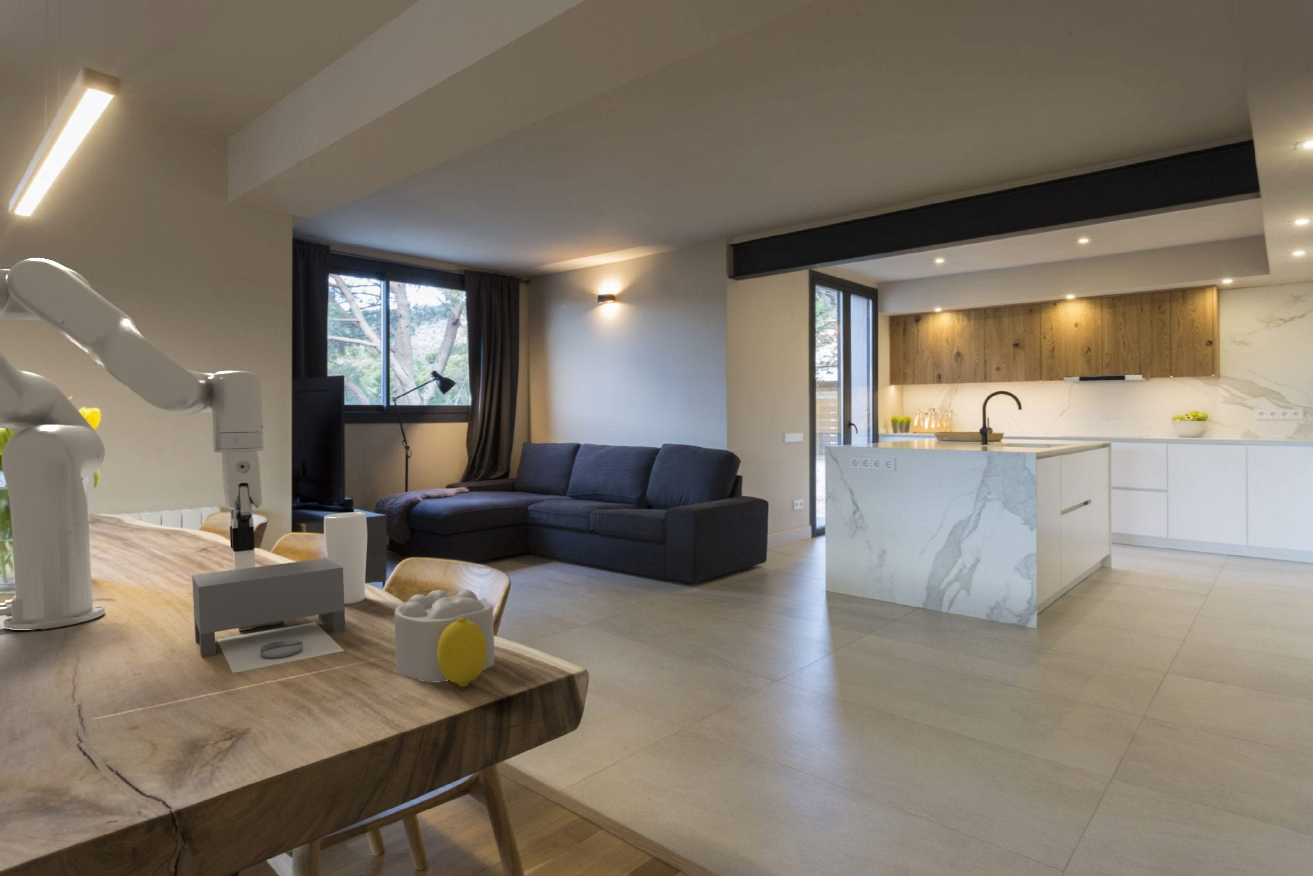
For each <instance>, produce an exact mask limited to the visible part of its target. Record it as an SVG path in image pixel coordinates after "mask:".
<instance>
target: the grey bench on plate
mask: <svg viewBox="0 0 1313 876" xmlns="http://www.w3.org/2000/svg"><path fill="white" fill-rule="evenodd" d="M192 597H193V598H192V600H193V602H192V603H193V619H194V621H193V622H194V640H195V643H199V649H200V651H199V652H200V656H201V658H206V657H211V656H216V634H215V633H217V632H223V631H224V632H225V631H228V630H234V629H236V630H237V629H238V628H242V627H248V626H254V625H260V624H266V623H272V622H278V621H284V622H285V621H289V620H293V619H294V620H295V619H300V618H306V617H311V616H318V620H319V621H321V622H323V621H329V620H330V629H331V632H332V634H335V633H336V634H337V633H340V632H346V614H345V613H346V612H345V604H344V583H343V567H341V566H340V565H338V564H336V563H335V562H333V561H331V560H330V559H328V558H327V557H325V558H317V559H308V560H300V561H295V562H294V561H292V562H286V563H278V564H277V563H276V564H269V565H262V566H261V565H260V566H255V567H252V568H244V569H237V570H233V569H230V570H222V571H214V572H206V573H198V574H192Z"/></svg>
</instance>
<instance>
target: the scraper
mask: <svg viewBox="0 0 1313 876" xmlns="http://www.w3.org/2000/svg"><path fill="white" fill-rule="evenodd" d="M231 520H232V525H231V526H232V528H234V518H233V519H231V518H230V521H231ZM253 526H254V524H253ZM254 527H255V526H254ZM232 545H233V540H232ZM255 553H256V552H255V549H254V550H248V551H239V552H234V551H233V550H232V567H233V568H232V570H237V569H244V568H252V567H256V556H255ZM283 623H285V620H284V621H278V622H272V623H266V624H260V625H254V626H248V627H242V628H237V629H238V631H241V630H247V629H253V628H259V627H265V626H270V625H271V626H272V625H277V624H283Z"/></svg>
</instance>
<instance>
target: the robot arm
mask: <svg viewBox="0 0 1313 876" xmlns="http://www.w3.org/2000/svg"><path fill="white" fill-rule="evenodd" d="M0 320H1V321H2V320H4V321H5V320H9V321H10V320H13V321H14V320H18V321H19V320H20V321H21V320H23V321H24V320H25V321H30V320H31V321H34V320H35V321H39V320H40V321H41V322H43V323H45V324H46V325H47V326H49V327H50V328H52V329H53V330H55V331H56V332H57V333H59V334H60V335H61V336H63V337H64V338H65V339H67V340H68V341H69V342H71V343H72V344H74V345H75V346H76V347H78V348H79V349H80V350H82V351H83V352H84V353H85V354H87V355H88V356H90V358H91V359H92V360H93V361H94V362H95V363H97V364H98V365H99V366H101V368H103V369H104V371H106V372H107V373H109V374H110V376H112V377H113V378H114V379H116V380H117V381H118V382H120V384H122V385H123V386H125V387H126V388H128V389H129V391H131V392H133V393H134V394H136V395H137V396H139V397H140V398H141V399H143V400H144V401H145V402H147V403H148V404H149V405H151V406H153V407H155V408H156V409H158V410H159V411H162V412H164V413H168V414H171V415H172V414H174V415H187V416H188V415H190V416H191V415H192V416H193V415H200V414H207V413H211V415H212V437H213V438H212V439H213V440H212V443H213V453H221V464H222V465H221V466H222V467H221V468H222V469H221V470H222V483H223V485H222V486H223V494H224V495H223V497H224V502H225V503H224V504H225V506H226V507H227V508H228V509H230V511H229V512H230V525H229V539H230V540H229V541H230V549H232V552H233V551H234V552H239V551H248V550H254V551H255V526H253V525H254V518H253V507H255V509H260V508H262V506H263V500H262V499H263V497H262V486H261V485H262V484H261V471H260V470H261V468H260V460H259V454H258V452H263V451H265V448H264V447H265V446H264V445H265V444H264V423H263V422H264V421H263V417H264V416H263V396H262V395H263V389H262V388H263V387H262V385H263V384H262V380H261V377H260V375H259V373H256V372H254V371H248V370H247V371H246V370H224V371H217V372H215V373H208V372H199V371H195V370H192V369H191V370H190V369H187V368H185V367H183V366H182V365H180V364H179V363H177V361H174V360H173V358H171V357H169V356H168V355H166V353H164V352H163V351H161V350H160V349H159V348H157V347H156V346H155V345H154V344H153V343H151V341H149V340H148V339H147V338H146V337H144V336H143V335H142V333H140V331H139V330H138V328H137V325H136V323H135V321H134V320H133V319H132V318H131V317H130V316H129V315H128V314H127V313H125V312H124V311H122V310H121V309H120V308H119V307H118V306H116V305H114V304H113V303H112V302H110V301H109V300H107V299H106V298H105V297H103V296H102V295H101V294H99V293H98V292H97V291H95V290H94V289H93V288H92V286H91V284H90V283H89V281H88V280H87V279H86V278H84V276H83V275H81V274H80V273H78V272H77V271H74V270H73V269H70V268H68V267H66V266H64V265H62V264H60V263H58V262H56V261H53V260H49V259H45V258H40V257H38V258H35V257H33V258H28V259H24V260H20V261H19V262H16V264H14V265H13V266H11V268H10V269H7V268H6V269H5V268H3V269H1V268H0ZM0 429H11V431H12V432H13V433H14V435H12V436H11V437H10V438H9V439H8V440H7V442H6V443H5V445H4V448H3V450H2V454H1V467H2V468H1V469H2V473H3V477H4V480H5V485H6V488H7V493H8V499H9V500H8V501H9V507H10V508H9V510H10V521H11V534H12V552H13V555H12V556H13V569H14V570H13V571H14V572H13V573H14V588H15V589H14V591H15V594H14V596H13V597H12V599H6V600H5V601H4V602H1V603H0V617H1V616H6V617H7V618H6V619H4V620H3V627H4V626H5V627H7V628H12V629H41V630H47V629H48V630H49V628H50V629H55V628H61V627H62V628H63V627H67V626H72V625H77V624H81V623H84V622H88V621H92V620H94V619H97V618H99V617H101V616H103V615H105V612H106V608H105V606H104V605H103V604H101V603H100V604H99V603H93V583H92V567H91V566H92V564H91V563H92V562H91V545H90V543H91V542H90V525H89V524H90V522H89V521H90V520H89V511H88V510H89V508H88V500H87V495H86V491H85V487H84V483H83V479H84V478H87V477H89V476H90V475H93V474H95V472H97V471H98V470H99V469H100V467H101V466H102V464H103V463H104V460H105V455H106V453H105V451H106V450H105V446H104V445H105V444H104V443H103V440H102V438H101V437H100V435H99V434H98V433H97V431H96V430H95V429H94V427H93V426H92V425H91V424H90V423H89V421H88V420H87V418H85V417H84V415H82V413H81V412H80V411H79V410H78V408H77V407H76V406H75V405H74V404H73V402H71V400H70V399H69V397H67V395H66V394H65V393H64V392H63V391H62V390H61V389H60V388H59V387H58V386H57V385H56V383H54V382H52V381H51V380H49V379H48V378H47V377H45V376H42V375H40V374H37V373H34V372H29V371H26V370H20V369H18V368H17V367H15V365H14V364H12V363H11V362H10V360H8V359H7V358H6V356H5V355H4V354H3V353H2V352H1V351H0ZM233 518H234V528H232V520H231V519H233ZM232 540H233V545H232Z"/></svg>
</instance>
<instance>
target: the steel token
mask: <svg viewBox="0 0 1313 876" xmlns="http://www.w3.org/2000/svg"><path fill="white" fill-rule="evenodd" d="M302 651H303V643H302V641H299V640H286V641H279V642H274V643H270V644H267V645H265V646H263V647H261V648H260V652H261V658H263V659H279V658H285V657H290V656H293V655H296V654H299V653H300V652H302Z"/></svg>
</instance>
